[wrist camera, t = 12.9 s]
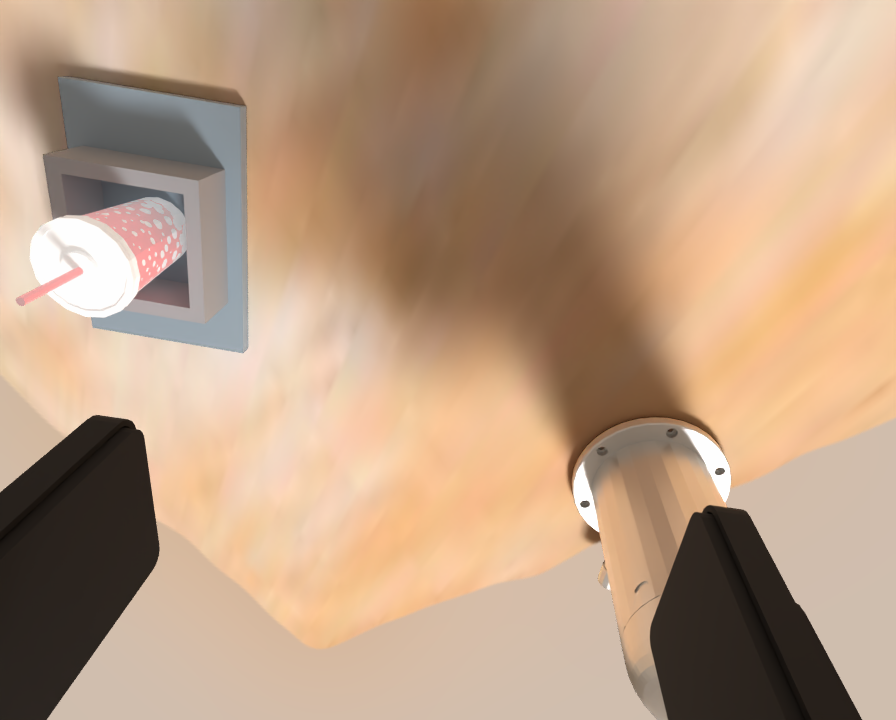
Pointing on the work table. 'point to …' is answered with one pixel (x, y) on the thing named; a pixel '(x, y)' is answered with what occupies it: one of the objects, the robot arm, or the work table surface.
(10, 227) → the work table surface
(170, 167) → the grey cup holder
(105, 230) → the beverage cup
